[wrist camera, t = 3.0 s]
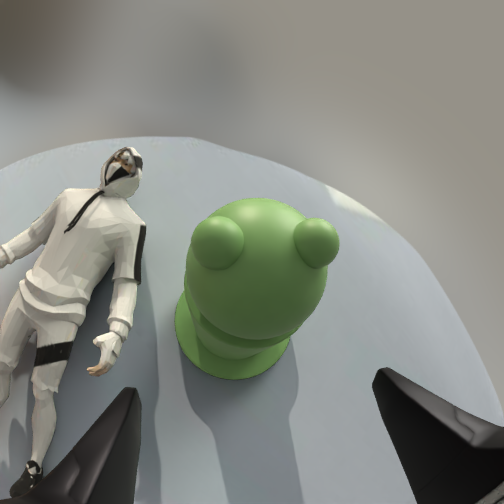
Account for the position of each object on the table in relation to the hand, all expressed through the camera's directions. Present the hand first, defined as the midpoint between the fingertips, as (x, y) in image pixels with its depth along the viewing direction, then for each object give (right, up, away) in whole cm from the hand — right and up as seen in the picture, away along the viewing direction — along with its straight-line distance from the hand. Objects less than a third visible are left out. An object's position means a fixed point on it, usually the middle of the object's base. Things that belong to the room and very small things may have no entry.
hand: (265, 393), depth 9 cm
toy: (-2, 0, +12) cm, 12 cm away
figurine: (-16, -1, +10) cm, 19 cm away
